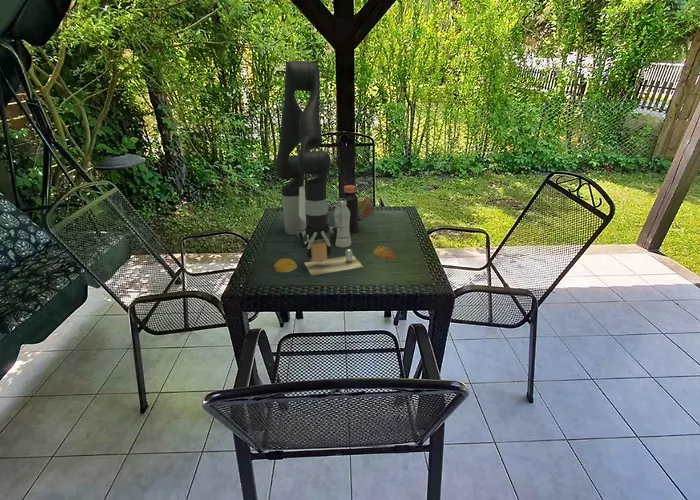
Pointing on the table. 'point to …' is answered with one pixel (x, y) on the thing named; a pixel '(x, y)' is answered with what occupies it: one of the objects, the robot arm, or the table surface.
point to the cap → (319, 250)
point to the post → (348, 256)
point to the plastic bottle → (342, 224)
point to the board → (332, 265)
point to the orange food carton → (365, 207)
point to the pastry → (384, 252)
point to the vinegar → (352, 207)
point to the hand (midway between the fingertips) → (318, 256)
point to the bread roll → (285, 265)
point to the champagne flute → (302, 205)
